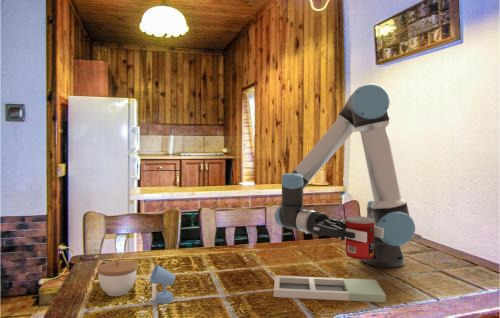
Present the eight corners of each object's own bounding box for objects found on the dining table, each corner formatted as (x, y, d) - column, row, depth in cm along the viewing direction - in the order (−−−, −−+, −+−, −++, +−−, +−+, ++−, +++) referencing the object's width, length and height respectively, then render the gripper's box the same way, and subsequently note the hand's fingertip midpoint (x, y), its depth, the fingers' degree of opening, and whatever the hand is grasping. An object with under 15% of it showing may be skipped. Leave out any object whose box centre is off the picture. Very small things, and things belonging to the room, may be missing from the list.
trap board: (375, 286, 114) (375, 279, 114) (385, 302, 102) (385, 295, 102) (275, 281, 117) (275, 275, 117) (273, 296, 105) (273, 290, 105)
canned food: (375, 260, 104) (376, 221, 103) (346, 258, 105) (346, 220, 105) (372, 253, 111) (372, 216, 111) (344, 251, 113) (345, 215, 112)
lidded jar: (144, 288, 111) (144, 257, 111) (120, 302, 101) (120, 268, 101) (115, 283, 115) (114, 253, 114) (89, 296, 104) (89, 263, 104)
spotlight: (151, 305, 99) (176, 302, 101) (150, 268, 98) (176, 266, 101) (149, 298, 103) (173, 295, 106) (149, 263, 103) (173, 260, 105)
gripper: (332, 229, 128) (393, 242, 111) (291, 238, 115) (352, 255, 98) (333, 208, 128) (394, 217, 110) (291, 214, 115) (353, 226, 98)
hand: (374, 235), depth 104 cm, fingers closed on canned food, 8 cm apart
